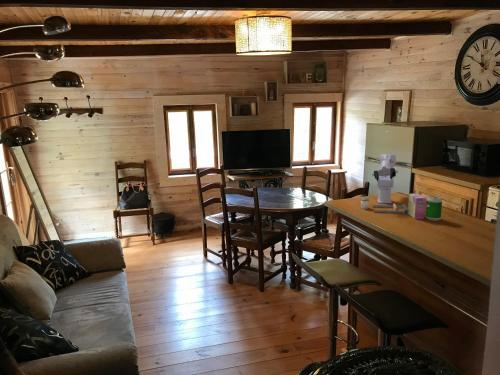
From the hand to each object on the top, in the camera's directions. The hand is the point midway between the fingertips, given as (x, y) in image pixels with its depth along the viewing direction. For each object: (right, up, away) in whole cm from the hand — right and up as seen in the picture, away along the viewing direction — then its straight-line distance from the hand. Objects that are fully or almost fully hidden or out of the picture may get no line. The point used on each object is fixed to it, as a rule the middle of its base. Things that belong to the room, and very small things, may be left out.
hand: (383, 178), depth 239 cm
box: (+15, -21, -10) cm, 28 cm away
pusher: (+7, -19, +3) cm, 20 cm away
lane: (+5, -18, +4) cm, 19 cm away
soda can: (+21, -23, -16) cm, 35 cm away
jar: (-9, -18, +10) cm, 22 cm away
